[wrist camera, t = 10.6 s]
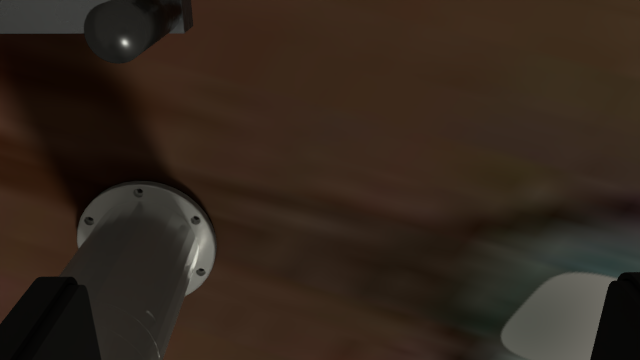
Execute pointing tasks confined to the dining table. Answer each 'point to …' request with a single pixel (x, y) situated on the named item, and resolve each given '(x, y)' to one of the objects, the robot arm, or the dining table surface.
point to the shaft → (100, 22)
